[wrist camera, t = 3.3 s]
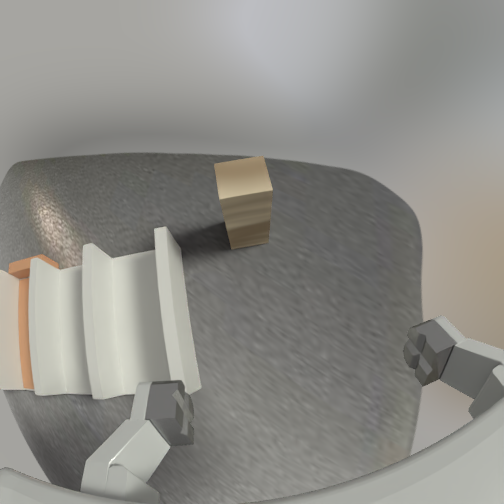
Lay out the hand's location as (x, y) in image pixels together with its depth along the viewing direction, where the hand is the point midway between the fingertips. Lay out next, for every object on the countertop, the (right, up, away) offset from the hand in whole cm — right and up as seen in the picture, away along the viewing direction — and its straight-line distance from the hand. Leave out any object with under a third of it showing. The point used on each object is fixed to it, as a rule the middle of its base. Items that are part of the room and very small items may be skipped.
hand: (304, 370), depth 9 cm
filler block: (-2, +6, +18) cm, 19 cm away
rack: (-18, -4, +15) cm, 24 cm away
